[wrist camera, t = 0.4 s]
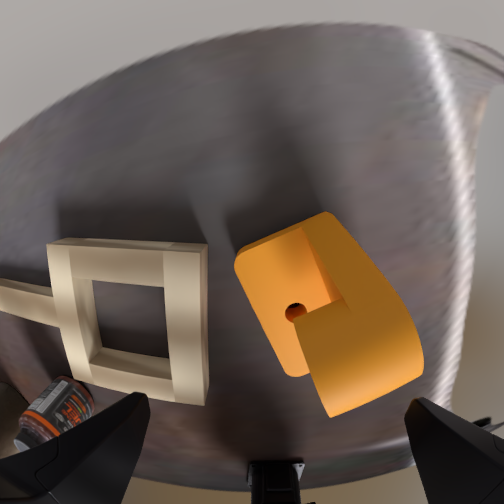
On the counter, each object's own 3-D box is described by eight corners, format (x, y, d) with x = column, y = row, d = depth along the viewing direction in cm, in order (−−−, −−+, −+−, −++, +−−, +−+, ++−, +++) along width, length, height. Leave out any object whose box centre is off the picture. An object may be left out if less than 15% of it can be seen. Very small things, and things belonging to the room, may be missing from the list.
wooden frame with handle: (209, 384, 24) (204, 405, 21) (15, 340, 24) (1, 350, 21) (207, 243, 21) (199, 252, 18) (-5, 234, 21) (-23, 239, 18)
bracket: (232, 249, 21) (203, 323, 9) (322, 210, 20) (399, 239, 9) (286, 361, 23) (302, 475, 11) (364, 328, 22) (427, 424, 11)
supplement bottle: (105, 412, 26) (65, 480, 14) (73, 412, 26) (33, 470, 15) (78, 371, 24) (23, 436, 13) (48, 374, 25) (-3, 429, 14)
